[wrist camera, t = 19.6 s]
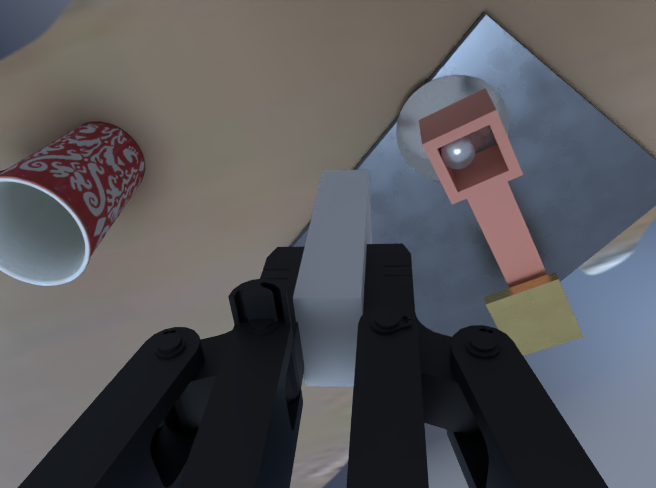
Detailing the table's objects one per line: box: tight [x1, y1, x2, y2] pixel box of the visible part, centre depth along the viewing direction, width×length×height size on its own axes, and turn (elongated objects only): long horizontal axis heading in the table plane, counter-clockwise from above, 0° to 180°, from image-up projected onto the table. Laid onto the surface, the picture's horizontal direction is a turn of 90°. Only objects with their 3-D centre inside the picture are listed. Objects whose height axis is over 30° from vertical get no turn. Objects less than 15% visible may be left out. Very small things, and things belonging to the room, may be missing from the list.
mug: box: [0, 122, 145, 286], centre depth 44 cm, size 13×9×14 cm
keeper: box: [484, 272, 583, 355], centre depth 49 cm, size 7×6×8 cm
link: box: [418, 88, 547, 288], centre depth 45 cm, size 19×6×5 cm, turn 29°
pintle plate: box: [290, 12, 656, 337], centre depth 49 cm, size 28×22×1 cm
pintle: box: [440, 134, 475, 169], centre depth 42 cm, size 2×2×5 cm
